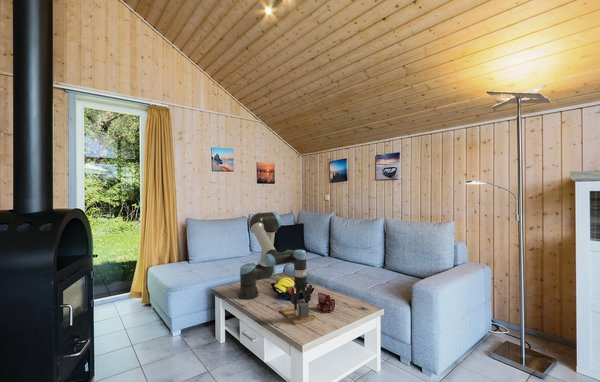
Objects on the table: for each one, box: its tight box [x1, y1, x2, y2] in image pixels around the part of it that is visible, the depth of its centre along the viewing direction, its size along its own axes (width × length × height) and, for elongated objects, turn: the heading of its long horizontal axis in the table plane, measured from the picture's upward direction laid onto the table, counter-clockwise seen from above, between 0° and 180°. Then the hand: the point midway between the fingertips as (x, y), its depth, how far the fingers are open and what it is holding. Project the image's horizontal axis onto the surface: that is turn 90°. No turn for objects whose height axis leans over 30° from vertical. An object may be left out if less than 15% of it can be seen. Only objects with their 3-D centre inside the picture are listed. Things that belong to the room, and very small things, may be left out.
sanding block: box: [295, 299, 310, 320], centre depth 177 cm, size 9×5×8 cm, turn 28°
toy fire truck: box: [316, 291, 335, 313], centre depth 190 cm, size 7×12×10 cm, turn 43°
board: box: [280, 305, 316, 326], centre depth 183 cm, size 22×13×2 cm, turn 28°
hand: (301, 313), depth 177 cm, fingers closed on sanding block, 5 cm apart
